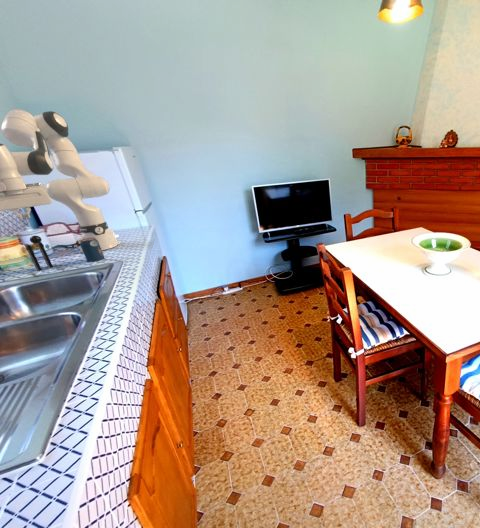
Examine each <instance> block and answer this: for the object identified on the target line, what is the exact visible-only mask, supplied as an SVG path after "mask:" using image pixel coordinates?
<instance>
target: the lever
mask: <svg viewBox="0 0 480 528" xmlns="http://www.w3.org/2000/svg"><path fill="white" fill-rule="evenodd" d="M29 242H31V244H29V245H30V246H31V248H32V250H33V252H34V251H35V252H36V251H40V249H39V246H38V243H40V242H42V238H41V236H39V235H32V236H31V237H29Z"/></svg>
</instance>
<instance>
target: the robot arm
mask: <svg viewBox="0 0 480 528" xmlns="http://www.w3.org/2000/svg"><path fill="white" fill-rule="evenodd" d="M0 129H1V130H0V131H1V134H2V135H3V137H4V138H5V139H6V140H7V141H9V142H10V143H12V144H14V145H16V146H18V147H19V146H20V147H24V148H33V149H32V150H27V151H10V150H9V149H8V147H7V146H6V145H5V144H4V143H0V212H5V211H11V210H12V212H13V213H14V214H16V215H17V216H18V217H19V219H20V220H26V219H31V215H30V214H31V211H32V209H31V208H32V207H38V206H39V207H40V206H46V205H52V203H53V201H55V202H59V203H61V204H62V205H65V206H66V207H67V208H69V209H70V210H71V211H72V212H73V214H74V215H75V218H76V220H77V222H78V224H79V226H78V227H79V230H80V233H81V234H80V238H79V239H77V240H76V241H75V243H72V244H71V246H68V245H65V244H57V245H54V248H57V247H63V248H65V249H72V248H74V247H75V246H77V247H78V250H80V252H82V253H83V250H82V248H81V245H80V243H81V240H83V239H86V238H95V239H96V240H98V242H99V245H100V247H101V250H102V251H105V250H110V249H112V248H116V247H117V246H118V245H120V244H122V242H121V241H120V240H118V239H117V238H118V237H119V235H118V234H115V233H114V231H113V230H112V229H109V224H108V223H107V221H106V220H105V218H104V215H103V212H102V210H101V208H100V207H99V206H96V205H93V204H88V203H86V202H83V200H85V199H92V198H99V197H103V196H106V195H108V194H109V192H110V187H111V186H110V184H109V183H108V181H107V180H106V179H105V178H103V177H102V176H99V175H96V174H95V173H92V172H91V171H90V170H88V169H87V167H85V165H84V163H83V161H82V159H81V156H80V154H79V152H78V150H77V148H76V146H75V145H74V144H73V142H72V141H71V140H70V139H69V138H67V137H69V125H68V123H67V121H66V120H65V118H64V117H63V116H62V115H60V114H59V113H57V112H55V111H54V110H53V111H51V110H50V111H44V112H42V113H39V114H38V113H37V114H36V115H35V114H34V115H32V113H30V112H28V111H27V110H24V109H20V108H15V109H11V110H10V111H8V112H7V113H6V114H5V116H4V117H3V118H2V122H1V125H0ZM51 158H52V159H51ZM53 163H54V164H53ZM54 166H55V168H56V171H58V172H59V173H60V174H63V175H64V176H67V177H70V178H58V179H55V180H51V181H48V182H46V184H43V183H40V182H35V183H25V180H24V178H23V177H25V176H48V175H50V174H51V173H52V172H53V170H54ZM52 200H53V201H52ZM19 209H24V210H25V213H24V214H23V213H22V214H21V213H20V212H19Z"/></svg>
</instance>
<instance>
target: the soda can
mask: <svg viewBox="0 0 480 528" xmlns="http://www.w3.org/2000/svg"><path fill="white" fill-rule="evenodd" d="M80 245H81V248H82V250H83V252H82V253H83V255H84V257H85V260H86V262H87V263H95V262H99V261H102V260H104V259H105V258H106V257H105V255H104V253H103V250H101V247H100V245H99V242H98V240H96V239H95V238H86V239H83V240H81V243H80Z"/></svg>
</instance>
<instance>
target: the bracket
mask: <svg viewBox="0 0 480 528" xmlns="http://www.w3.org/2000/svg"><path fill="white" fill-rule="evenodd" d="M23 245H24V249H25V251H27V253H28V256H29V257H30V259H31V261H32V264H33V265H34V267H35V269H36V270H37V271H38V272H40V271H43V269H42V267H41V265H40V262H39V260H38V258H37V257H36V254H35V252H34V251H33V250H32V248H31V246H30V244H29V243H24V244H23ZM38 246H39V252H40V254H41V255H42V257H43V259H44V262H45V264H46V266H47V267H48V268H50V269H51V268H54V265H53V264H52V262H51V259H50V257H49V254H48V253H47V250H46V248H45V245H44V243H43V242H42V241H41V242H40V243H38Z"/></svg>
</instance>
